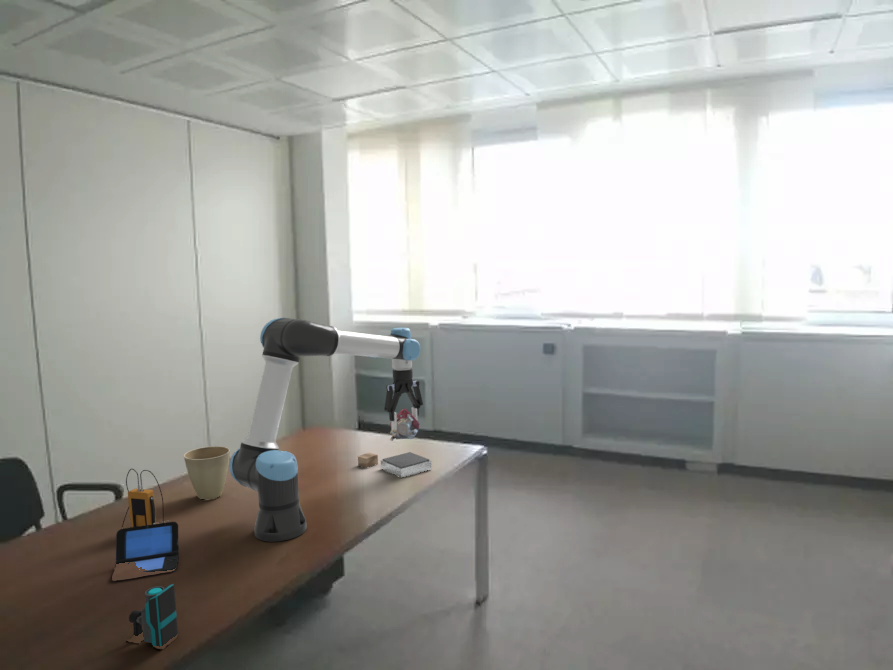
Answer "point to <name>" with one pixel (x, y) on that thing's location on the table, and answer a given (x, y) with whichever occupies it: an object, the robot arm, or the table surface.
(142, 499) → the multimeter
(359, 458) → the brown rectangular block
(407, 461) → the stand
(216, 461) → the plant pot
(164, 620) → the surveillance camera
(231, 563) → the table surface
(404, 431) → the brake caliper
